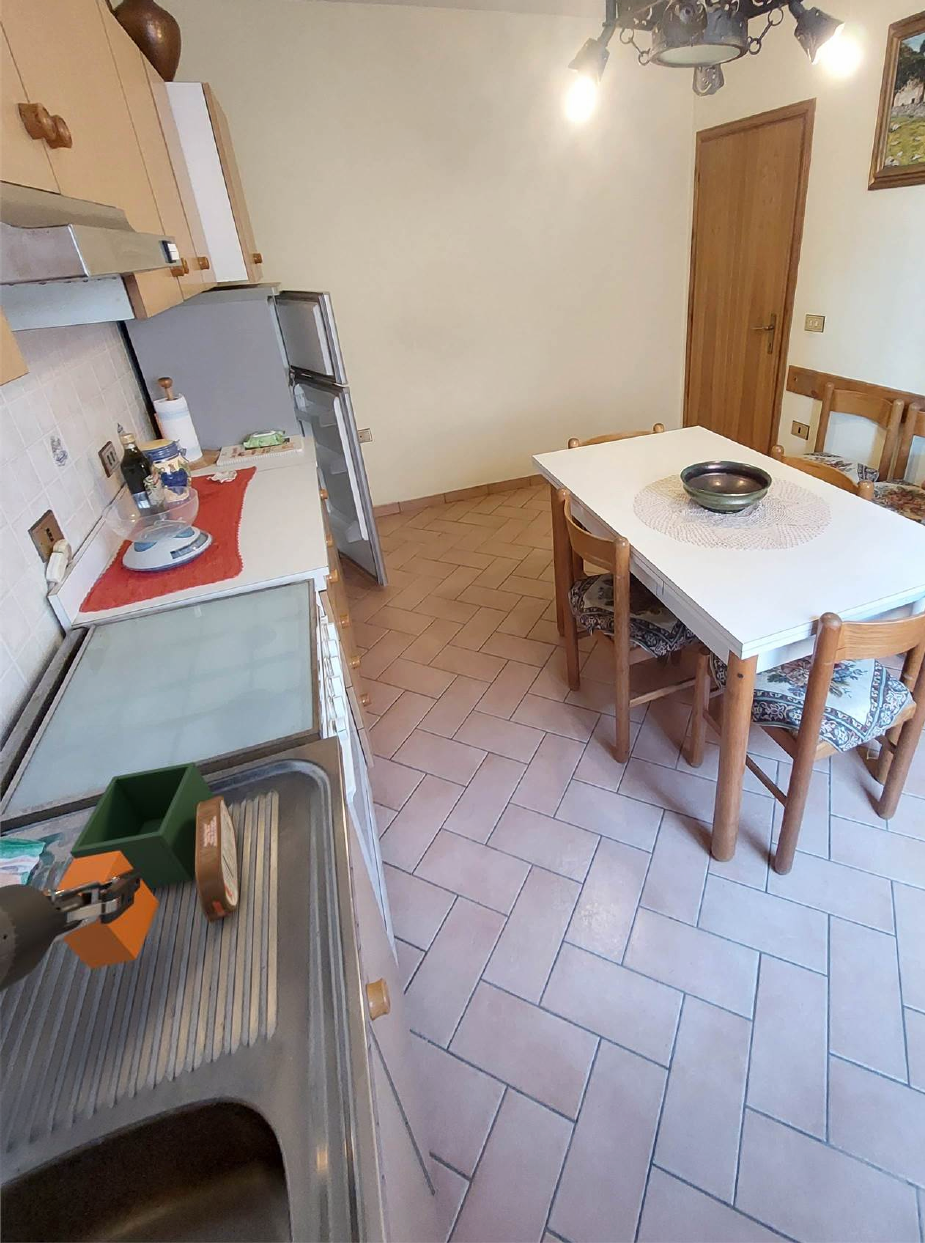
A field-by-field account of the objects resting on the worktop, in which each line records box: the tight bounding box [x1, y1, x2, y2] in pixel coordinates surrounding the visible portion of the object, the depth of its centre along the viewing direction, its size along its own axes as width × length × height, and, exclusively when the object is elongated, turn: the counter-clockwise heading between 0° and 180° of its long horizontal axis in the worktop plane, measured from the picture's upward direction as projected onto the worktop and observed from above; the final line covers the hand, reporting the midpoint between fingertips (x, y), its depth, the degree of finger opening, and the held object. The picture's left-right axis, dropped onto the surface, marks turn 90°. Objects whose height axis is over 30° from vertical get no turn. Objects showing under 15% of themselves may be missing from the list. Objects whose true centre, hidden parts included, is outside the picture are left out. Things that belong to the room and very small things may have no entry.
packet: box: [56, 851, 160, 969], centre depth 60 cm, size 4×6×10 cm
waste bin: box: [69, 761, 215, 890], centre depth 75 cm, size 10×10×10 cm
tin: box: [194, 795, 239, 924], centre depth 71 cm, size 15×3×8 cm, turn 27°
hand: (109, 884), depth 61 cm, fingers closed on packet, 4 cm apart
